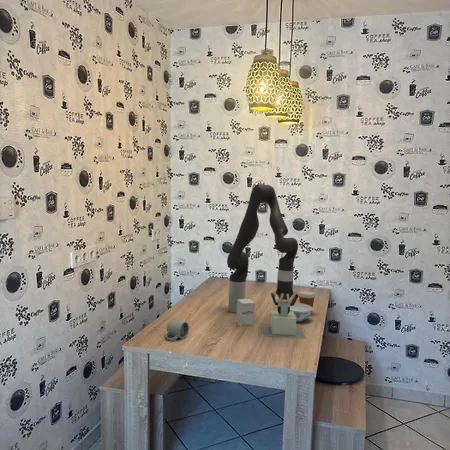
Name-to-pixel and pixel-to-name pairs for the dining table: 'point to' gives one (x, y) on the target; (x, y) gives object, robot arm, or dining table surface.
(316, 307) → the dining table surface
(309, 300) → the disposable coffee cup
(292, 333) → the sage cover
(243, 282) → the robot arm
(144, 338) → the dining table surface
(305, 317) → the chinaware
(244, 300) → the supplement box
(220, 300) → the dining table surface
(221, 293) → the dining table surface
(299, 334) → the grey mat
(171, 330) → the ceramic mug
